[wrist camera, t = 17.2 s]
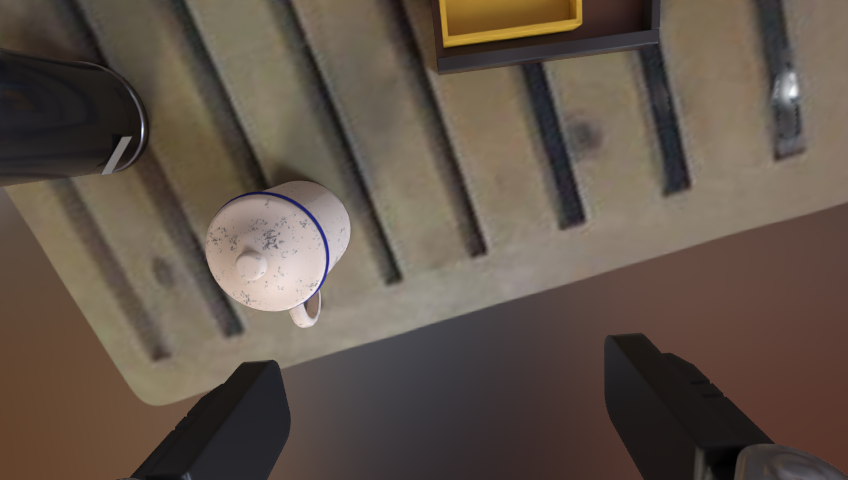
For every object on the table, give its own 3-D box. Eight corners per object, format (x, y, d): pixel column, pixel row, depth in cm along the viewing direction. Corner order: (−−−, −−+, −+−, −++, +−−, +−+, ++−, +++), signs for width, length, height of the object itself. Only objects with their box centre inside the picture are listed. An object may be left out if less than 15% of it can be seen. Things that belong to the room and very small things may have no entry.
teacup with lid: (244, 189, 38) (158, 216, 27) (338, 167, 37) (291, 185, 26) (284, 307, 41) (222, 376, 30) (372, 290, 40) (343, 354, 29)
